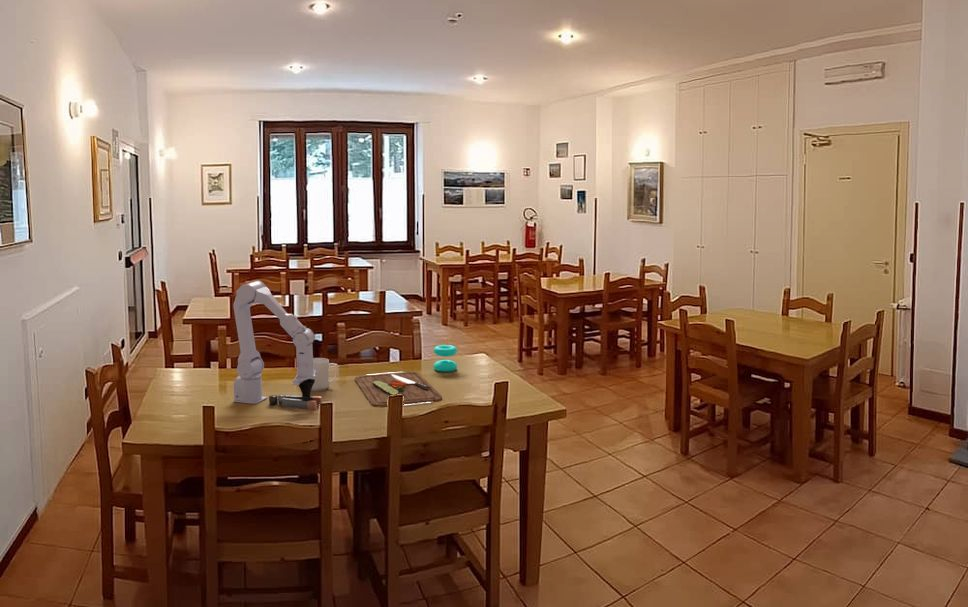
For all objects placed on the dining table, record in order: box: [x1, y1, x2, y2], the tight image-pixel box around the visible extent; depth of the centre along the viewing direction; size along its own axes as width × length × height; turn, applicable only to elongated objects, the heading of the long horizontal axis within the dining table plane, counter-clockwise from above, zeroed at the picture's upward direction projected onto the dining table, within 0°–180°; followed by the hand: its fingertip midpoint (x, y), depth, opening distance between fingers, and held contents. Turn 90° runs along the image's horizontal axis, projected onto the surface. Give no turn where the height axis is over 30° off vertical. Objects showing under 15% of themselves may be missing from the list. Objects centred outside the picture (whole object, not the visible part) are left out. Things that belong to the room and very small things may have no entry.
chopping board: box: [354, 371, 443, 407], centre depth 294 cm, size 45×27×3 cm, turn 20°
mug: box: [311, 357, 338, 392], centre depth 292 cm, size 12×9×11 cm
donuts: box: [433, 344, 458, 373], centre depth 322 cm, size 10×10×10 cm
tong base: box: [268, 394, 318, 411], centre depth 270 cm, size 19×3×3 cm, turn 74°
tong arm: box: [277, 394, 322, 406], centre depth 272 cm, size 16×3×3 cm, turn 85°
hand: (306, 399), depth 273 cm, fingers closed
